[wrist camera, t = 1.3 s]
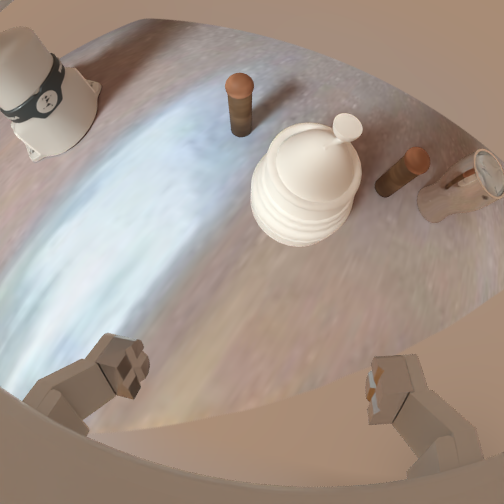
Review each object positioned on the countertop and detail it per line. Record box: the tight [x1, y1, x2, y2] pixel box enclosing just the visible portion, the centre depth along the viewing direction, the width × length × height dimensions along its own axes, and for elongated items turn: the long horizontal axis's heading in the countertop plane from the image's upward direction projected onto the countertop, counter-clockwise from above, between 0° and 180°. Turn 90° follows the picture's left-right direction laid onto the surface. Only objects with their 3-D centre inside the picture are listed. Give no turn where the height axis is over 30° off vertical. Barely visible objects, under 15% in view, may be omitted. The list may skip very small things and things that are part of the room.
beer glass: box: [417, 149, 504, 223], centre depth 32 cm, size 7×7×15 cm
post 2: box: [375, 147, 430, 197], centre depth 34 cm, size 3×3×12 cm
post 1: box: [225, 73, 254, 137], centre depth 35 cm, size 3×3×12 cm
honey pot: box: [251, 113, 363, 247], centre depth 31 cm, size 13×13×18 cm
